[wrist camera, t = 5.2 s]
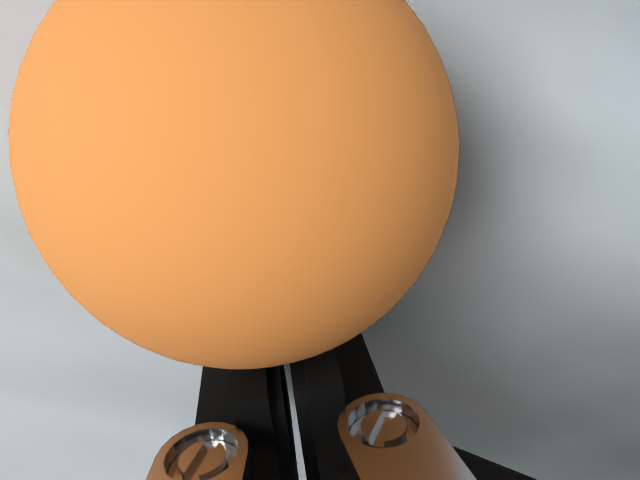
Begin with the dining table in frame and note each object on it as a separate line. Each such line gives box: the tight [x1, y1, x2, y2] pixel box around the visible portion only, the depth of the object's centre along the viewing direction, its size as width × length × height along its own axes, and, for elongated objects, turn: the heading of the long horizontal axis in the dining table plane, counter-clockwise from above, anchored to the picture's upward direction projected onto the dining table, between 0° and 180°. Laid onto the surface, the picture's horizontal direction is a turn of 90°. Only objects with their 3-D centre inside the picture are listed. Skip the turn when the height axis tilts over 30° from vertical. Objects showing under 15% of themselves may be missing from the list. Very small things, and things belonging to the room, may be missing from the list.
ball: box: [8, 0, 459, 369], centre depth 8 cm, size 6×6×6 cm
